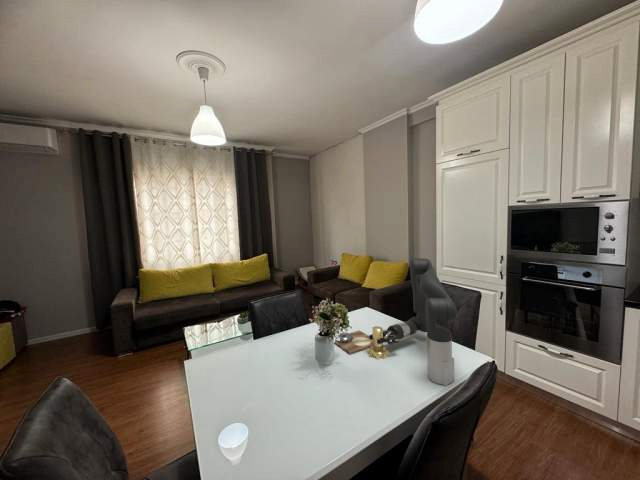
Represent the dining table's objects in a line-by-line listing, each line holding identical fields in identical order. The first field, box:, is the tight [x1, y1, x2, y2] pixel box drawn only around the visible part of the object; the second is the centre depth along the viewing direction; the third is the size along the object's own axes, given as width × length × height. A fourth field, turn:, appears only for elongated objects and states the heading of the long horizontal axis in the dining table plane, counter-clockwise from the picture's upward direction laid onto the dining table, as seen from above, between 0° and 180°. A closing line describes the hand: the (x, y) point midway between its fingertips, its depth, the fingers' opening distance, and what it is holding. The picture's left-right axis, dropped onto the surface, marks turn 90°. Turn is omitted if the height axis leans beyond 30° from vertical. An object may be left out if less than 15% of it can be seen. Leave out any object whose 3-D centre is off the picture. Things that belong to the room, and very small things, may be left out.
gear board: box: [334, 329, 373, 356], centre depth 140 cm, size 18×20×1 cm
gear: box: [338, 331, 353, 344], centre depth 141 cm, size 10×9×4 cm
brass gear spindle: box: [367, 325, 389, 360], centre depth 126 cm, size 10×10×13 cm
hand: (373, 339), depth 125 cm, fingers closed on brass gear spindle, 5 cm apart
